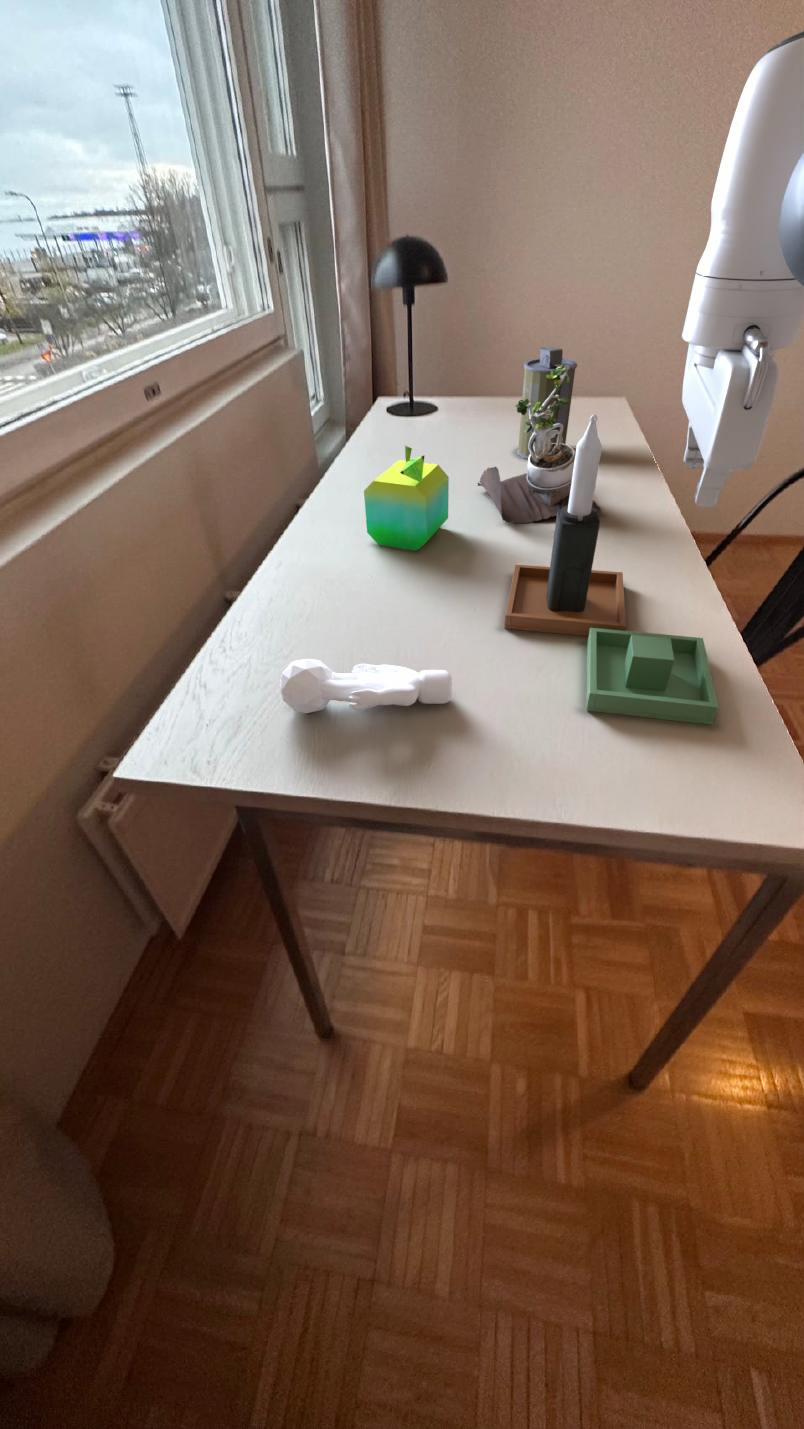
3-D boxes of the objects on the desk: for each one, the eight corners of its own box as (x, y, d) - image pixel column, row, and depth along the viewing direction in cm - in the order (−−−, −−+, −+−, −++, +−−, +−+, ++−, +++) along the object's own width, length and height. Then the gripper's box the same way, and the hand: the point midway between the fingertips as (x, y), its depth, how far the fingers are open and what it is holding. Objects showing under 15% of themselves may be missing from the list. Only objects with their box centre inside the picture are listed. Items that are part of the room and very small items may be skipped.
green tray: (697, 654, 80) (703, 637, 78) (712, 725, 70) (718, 707, 68) (587, 644, 83) (590, 627, 81) (586, 710, 73) (589, 693, 71)
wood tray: (619, 584, 94) (622, 572, 92) (623, 639, 83) (626, 626, 82) (514, 576, 97) (515, 564, 95) (504, 628, 86) (505, 615, 85)
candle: (581, 593, 91) (613, 408, 75) (585, 612, 87) (620, 421, 71) (545, 593, 92) (569, 408, 75) (548, 611, 88) (573, 421, 71)
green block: (662, 668, 77) (670, 638, 74) (665, 691, 74) (674, 660, 71) (623, 664, 78) (631, 634, 75) (625, 687, 75) (632, 656, 72)
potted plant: (607, 527, 114) (608, 393, 94) (507, 562, 115) (487, 436, 96) (567, 470, 126) (560, 341, 107) (477, 502, 128) (454, 380, 108)
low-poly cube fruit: (368, 542, 108) (360, 452, 98) (392, 519, 114) (387, 432, 104) (426, 552, 104) (425, 460, 94) (448, 528, 111) (449, 439, 101)
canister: (507, 450, 140) (515, 347, 126) (547, 441, 143) (558, 341, 130) (535, 465, 132) (546, 357, 119) (576, 456, 135) (591, 350, 122)
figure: (273, 731, 69) (455, 731, 70) (270, 673, 66) (458, 675, 67) (286, 695, 79) (444, 696, 80) (283, 645, 77) (447, 646, 78)
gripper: (819, 343, 43) (753, 533, 52) (761, 296, 58) (718, 450, 67) (721, 342, 45) (673, 528, 54) (689, 296, 60) (655, 447, 69)
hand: (697, 484), depth 61 cm, fingers open, 8 cm apart
